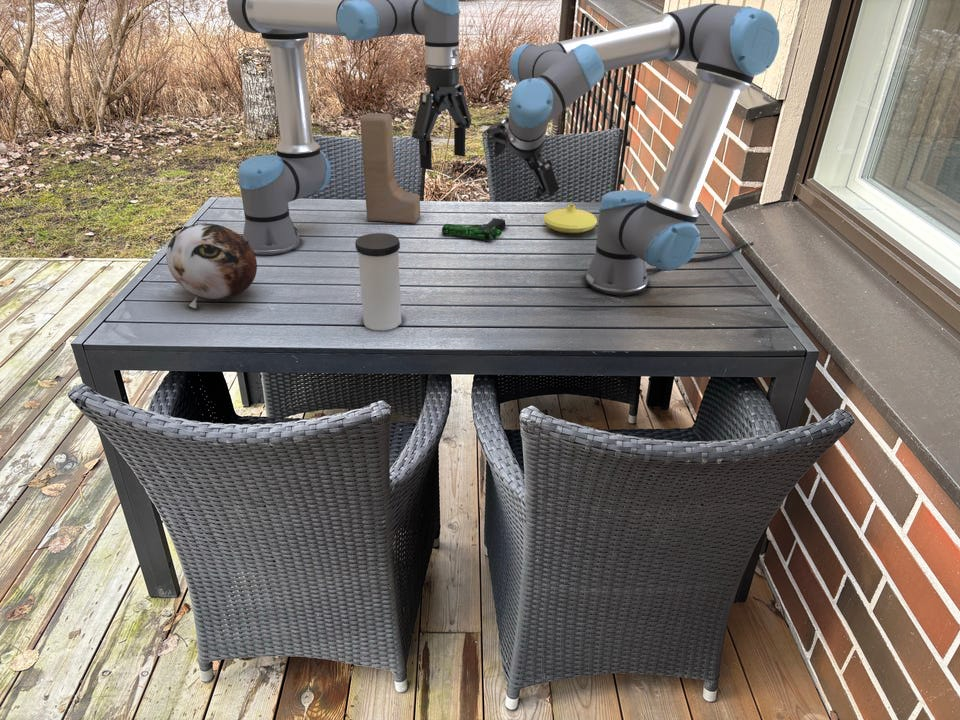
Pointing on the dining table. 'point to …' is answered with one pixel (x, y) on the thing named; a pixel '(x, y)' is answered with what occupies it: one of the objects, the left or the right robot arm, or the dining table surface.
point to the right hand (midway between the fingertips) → (520, 172)
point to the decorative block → (384, 174)
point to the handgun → (476, 230)
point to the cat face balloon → (211, 261)
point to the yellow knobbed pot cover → (570, 220)
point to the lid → (377, 244)
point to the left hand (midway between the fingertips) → (443, 161)
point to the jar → (380, 291)
